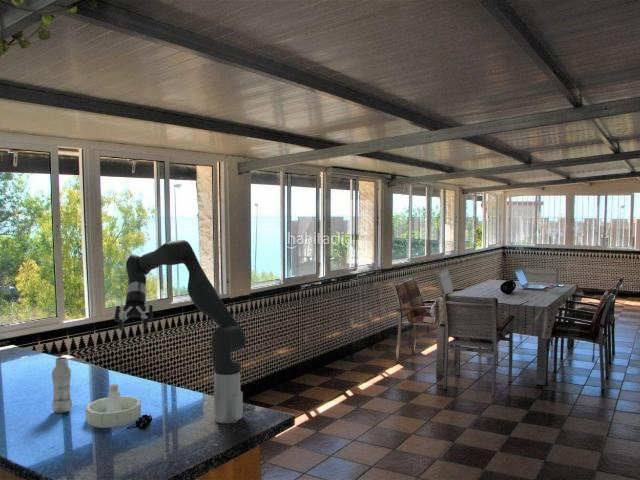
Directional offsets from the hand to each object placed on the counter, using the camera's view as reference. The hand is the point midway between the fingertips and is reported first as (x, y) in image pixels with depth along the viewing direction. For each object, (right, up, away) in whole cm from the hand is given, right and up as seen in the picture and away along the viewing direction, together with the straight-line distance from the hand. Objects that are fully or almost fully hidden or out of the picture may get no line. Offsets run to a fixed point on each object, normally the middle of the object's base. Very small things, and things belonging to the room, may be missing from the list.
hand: (132, 329), depth 208 cm
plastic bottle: (-22, -29, -11) cm, 38 cm away
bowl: (-1, -29, -16) cm, 34 cm away
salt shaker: (-1, -29, -16) cm, 33 cm away
